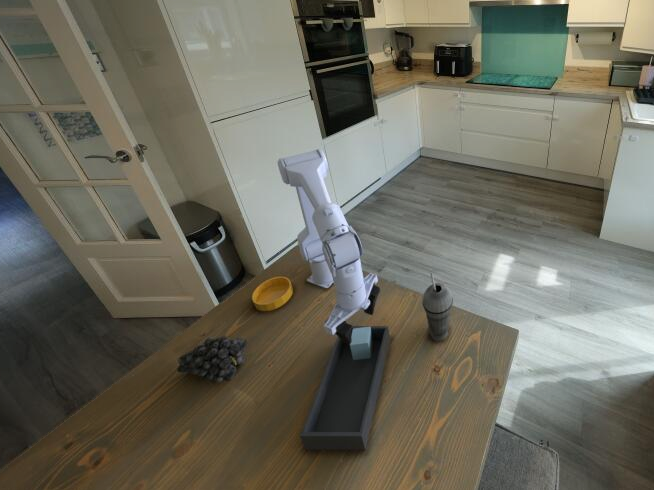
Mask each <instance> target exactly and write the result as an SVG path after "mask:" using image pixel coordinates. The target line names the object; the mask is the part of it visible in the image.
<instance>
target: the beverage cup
mask: <svg viewBox="0 0 654 490" xmlns="http://www.w3.org/2000/svg"><path fill="white" fill-rule="evenodd" d="M430 279H431V285H429V286H428V287H427V288H425V291H424V292H423V293H424V294H423V297H422V302H421V303H422V307H423V309H424V312H425V315H426V320H427V327H428V332H429V334H430V335H429V336H430V337H431V339H432V340H434V341H436V342H440V341H441V342H442V341H443V340H445V339H446V338H447V336H448V335H449V328H450V318H451V317H450V316H451V310H452V306H453V304H454V303H453V301H454V299H453V295H452V292H451V290H450V288H449V287H448V285H446V284H444V283H441V282H435V277H434V273H433V272H430Z"/></svg>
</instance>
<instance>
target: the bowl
mask: <svg viewBox="0 0 654 490" xmlns="http://www.w3.org/2000/svg"><path fill="white" fill-rule="evenodd" d="M293 287H294V286H293V284H292V282H291V280H290V279H289V278H288V277H285V276H275V277H272V278H271V277H270V278H269V279H267V280H265V281H263V282H261V283H260V284H259V285H258V286H257V287H256V288H255V289H254V291H253V292H252V296H251V300H252V302H253V305H254V307H255V309H256V310H258V311H260V312H269V311H274V310H276V309H279V308H281V307H282V306H283V305H285V304H286V303H287V302H288V301H289V300H290V299H291V297H292V295H293V291H294V288H293Z"/></svg>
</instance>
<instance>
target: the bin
mask: <svg viewBox="0 0 654 490" xmlns="http://www.w3.org/2000/svg"><path fill="white" fill-rule="evenodd" d="M363 327H370V328H371V333H372V339H373V345H372V353H371V358H367V359H360V360H353V357H352V352H351V348H350V345H347V344H345V343H343V342H342V341H341V339H340V338H339V337H338V336H337V338H336V340H335V343H334V345H333V348H332V351H331V353H330V356H329V357H328V358H329V359H328V361H327V364H326V366H325V368H324V372H323V375H322V376H321V379H320V381H319V384H318V387H317V390H316V393H315V395H314V397H313V401H312V403H311V405H310V408H309V411H308V414H307V416H306V419H305V421H304V424H303V426H302V429H301V432H300V435H299V437H300V440H301V442H302V445H303V448H304V450H305V451H366V449H367V444H368V439H369V436H370V431H371V426H372V423H373V418H374V415H375V414H374V413H375V409H376V404H377V400H378V395H379V390H380V387H381V382H382V377H383V373H384V369H385V364H386V359H387V355H388V350H389V346H390V341H391V338H390V337H391V336H390V329H389V326H388V325H352V329H351V336H352V331H353V329H355V328H363Z"/></svg>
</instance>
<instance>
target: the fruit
mask: <svg viewBox="0 0 654 490" xmlns="http://www.w3.org/2000/svg"><path fill="white" fill-rule="evenodd" d="M247 345H248V340H247V339H246V338H242V337H236V338H235V337H233V338H229V337H228V336H226V335H222V336H218V337H216V338H214V337H207V338H206V339H205V340H204V342H203V344H200V345H196V346H195V347H194V348H193V349H192V350H188V351H186V352H185V353H184V354H182V355H180V357H178V359H177V363H178V366H177V368H176V370H177V372H178V373H181V375H183V376H186V375H188V374H189V375H194V376H198V379H199V380H206V381H207V382H211V381H212V383H213V384H217V385H218V384H219V383H222V381H223V380H224V381H225V382H226V381H231V380H232V379H234V376H235V374H236V372H237V366H240V365H242V364H243V363H244V362H245V359H246V358H245V356H244V353H245V352H246V346H247Z"/></svg>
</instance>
